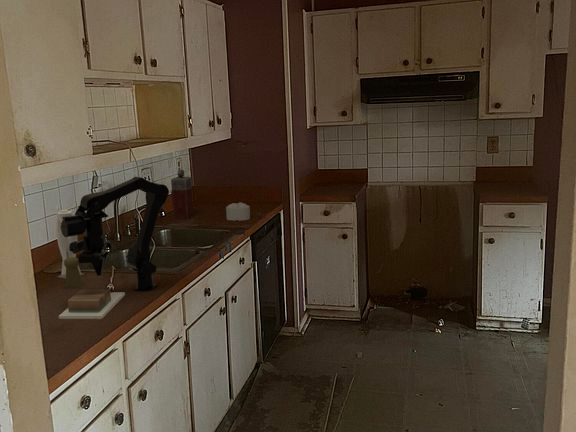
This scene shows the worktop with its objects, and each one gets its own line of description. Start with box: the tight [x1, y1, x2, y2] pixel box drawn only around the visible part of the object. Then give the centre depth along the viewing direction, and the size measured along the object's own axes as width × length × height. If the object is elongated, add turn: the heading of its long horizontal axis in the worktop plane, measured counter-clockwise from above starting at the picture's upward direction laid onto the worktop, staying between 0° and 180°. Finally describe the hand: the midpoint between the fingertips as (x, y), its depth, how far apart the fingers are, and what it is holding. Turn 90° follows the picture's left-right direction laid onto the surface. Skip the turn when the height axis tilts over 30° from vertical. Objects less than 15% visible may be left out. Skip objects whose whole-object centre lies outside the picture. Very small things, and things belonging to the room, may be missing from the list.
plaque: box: [67, 288, 111, 313], centre depth 190 cm, size 4×10×11 cm
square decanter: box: [170, 169, 195, 220], centre depth 328 cm, size 9×11×28 cm
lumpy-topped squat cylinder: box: [225, 202, 251, 222], centre depth 324 cm, size 10×13×9 cm
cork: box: [64, 257, 83, 290], centre depth 213 cm, size 6×6×11 cm
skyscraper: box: [55, 205, 85, 280], centre depth 225 cm, size 8×8×28 cm
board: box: [58, 291, 126, 320], centre depth 193 cm, size 22×14×1 cm, turn 177°
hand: (99, 275), depth 198 cm, fingers closed
